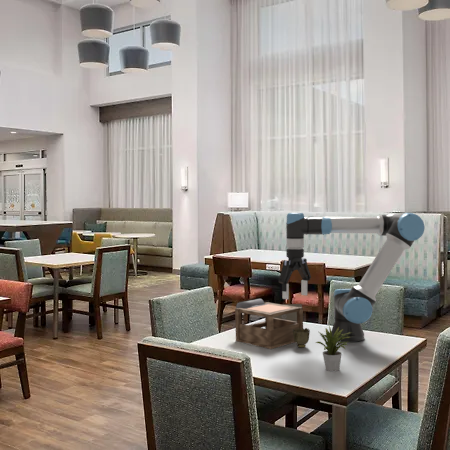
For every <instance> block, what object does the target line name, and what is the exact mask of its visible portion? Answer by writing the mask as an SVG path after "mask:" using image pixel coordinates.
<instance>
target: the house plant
mask: <svg viewBox="0 0 450 450" xmlns="http://www.w3.org/2000/svg"><path fill="white" fill-rule="evenodd" d="M328 328H329V329H328ZM328 328H327V327H325V331H324V330H323V332H325V334H324V333H321V332H320V331H318V333H319V336H320V337H321V338H322V339H323V341H324V343H325V344H324V343H323V342H321V341H316V342H315V344H316V343H317V344H318V345H319V344H320V345H321V346H323V347H324V348H323V351H322V357H323V363H324V368H325V370H326V371H328V372H338V371H340V368H341V361H342V360H341V359H342V355H343V354H342V352H341V351H340V348H344V349H346V347H345V346H348V344H347V342H342V341H340V340H342V339H345V338H349V337H344V336H346V335H345V334H341V332H342V330H343V329H342V330H340V331H339V332H338V330H339V327H338V329H337V330H336V332H335V334H334V336H333V338H332V332H331V331H332V328H331V327H330V326H329V327H328ZM351 333H352V332H351ZM340 334H341V335H342V336H343V337H342V336H341V337H342V338H341V337H340V338H339V336H340ZM346 334H348V333H346ZM338 338H339V339H338ZM338 350H339V351H338Z"/></svg>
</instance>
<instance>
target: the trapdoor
mask: <svg viewBox="0 0 450 450" xmlns="http://www.w3.org/2000/svg"><path fill="white" fill-rule="evenodd" d="M264 303H265V302H264V300H263V299H262V298H256V299H251V300H246V301H245V300H244V301H239V302H237V304H236V306H235V309H236V308H244V309H250V310H256V311H262V312H268V313H272V312H276V311H281V310H285V309H290V307H284V306H277V305H271V304H264ZM241 314H243V313H242V312H241Z"/></svg>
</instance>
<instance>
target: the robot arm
mask: <svg viewBox="0 0 450 450" xmlns="http://www.w3.org/2000/svg"><path fill="white" fill-rule="evenodd" d="M285 225H286V228H285V229H286V248H287V249H286V258H287V259H288V260H285V259H284V260H283V263H282V267H281V268H282V269H281V271H280V275H279V278H278V283H279V284H281V290H282V291H281V292H282V299H283V300H289V299H290V298H289V297H290V296H289V295H290V294H289V288H290V287H289V286H290V285H289V281H290V278H291V277H292V274H293V273H294V272H295V271H297V272H298V274H299V275H300V277H301V279H302V280H301V283H300V285H301V288H300V289H301V294H300V295H301V296H305V297H306V296H308V286H309V284H308V283H309V282H310V280H311V278H312V276H311V272H310V268H309V265H308V260H307V258H304V257H305V253H304V252H305V249H304V247H305V237H304V236H305V235H319V236H320V235H323V236H324V235H330V234H377V235H378V236H381V237H382V236H385V237H386V240H385V241H384V243H383V244H382V247H381V248H380V250H379V251H378V253H377V254H376V256H375V257H374V259H373V261H372V262H371V264H370V266H369V267H368V268H367V270H366V272H365V274H364V275H363V276H362V278H361V279H360V281H359V282H358V284H357V285H353V286H352V288H337V289H335V290H334V291H333V311H334V313H333V315H334V317H333V319H334V321H333V325H332V328H331V332H332V338H333V336H334V334H335V332H336V330H337V329H338V327H339V330H338V332H339V331H340V330H342V329H343V330H342V332H341V334H345V335H346V336H344V337H349V338H345V339H342V340H340V342H344V343H345V342H346V343H351V342H352V343H357V342H361V341H364V340H365V332H364V330H363V327H362V324H363V323H365V322H367V321H369V319H370V318H371V317H372V314H373V308H374V305H375V304H376V302H377V298H376V295H377V294H378V293H379V291H380V289H381V287H382V286H383V284H384V282H386V280H387V278H388V276H389V275H390V273H391V272H392V270H393V269H394V267H395V265H396V264H397V262H398V261H399V259H400V257H401V256H402V255H403V253H404V251H405V250H407V249H411V247H412V245H413V244H414V242H415V241H417V240H419V239H421V238H422V237H423V234H424V233H425V230H426V229H425V223H424V220H423V219H422V217H420V216H419V215H418V214H416V213H413V212H394V213H389V214H388V213H387V214H378V215H377V216H313V215H312V216H308V217H307V216H305V215H304V213H303V212H289V213H287V214H286V222H285ZM308 281H309V282H308ZM351 332H352V333H351ZM346 333H348V334H346ZM341 334H340V336H339V338H340V337H341V336H342V335H341ZM342 337H343V336H342ZM342 337H341V338H342ZM339 338H338V339H339Z"/></svg>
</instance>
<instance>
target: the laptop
mask: <svg viewBox="0 0 450 450" xmlns="http://www.w3.org/2000/svg"><path fill="white" fill-rule="evenodd" d="M286 305H287V306H294V307H302V308H303V304H302V303H292V304H290V303H288V304H286ZM273 318H278V319H283V320H289V321H294V322H297V312H293V313H289V314H284V315H280V316H275V317H273Z"/></svg>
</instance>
